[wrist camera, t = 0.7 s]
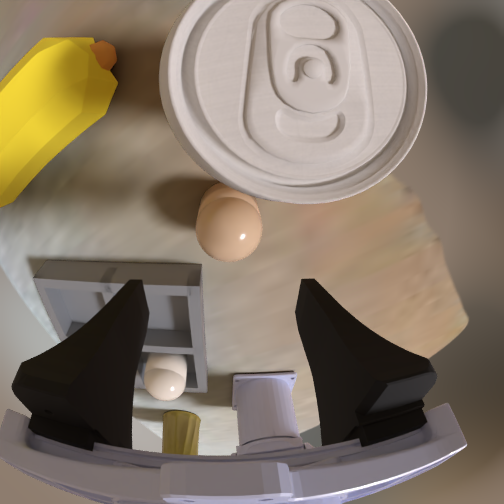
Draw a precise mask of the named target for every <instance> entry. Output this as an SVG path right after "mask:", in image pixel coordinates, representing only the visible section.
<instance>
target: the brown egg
mask: <svg viewBox="0 0 504 504" xmlns="http://www.w3.org/2000/svg"><path fill="white" fill-rule="evenodd" d="M262 231H263V226H262V220H261V216H260V213H259V209H258V205H257V202H256V199H255V197H253V196H250V195H247V194H244V193H241V192H239V191H237V190H235V189H233V188H230V187H228V186H227V185H225V184H223V183H222V182H220V183H217V184H215V185H213V186H212V187H210V188H209V189H208V190H207V191H206V192H205V193H204V195H203V197H202V199H201V202H200V207H199V211H198V216H197V221H196V236H197V240H198V242H199V244H200V246H201V248H202V249H203V250H204V251H205V252H206V253H207V254H208V255H209V256H211V257H212V258H214V259H216V260H219V261H224V262H234V261H239V260H242V259H244V258H246V257H247V256H249V255H250V254H251V253H252V252H253V251H254V250H255V249H256V248H257V246H258V244H259V242H260V240H261V237H262Z"/></svg>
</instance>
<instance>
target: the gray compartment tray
mask: <svg viewBox="0 0 504 504" xmlns="http://www.w3.org/2000/svg"><path fill="white" fill-rule="evenodd" d="M33 279H34V282H35V284H36V287H37V289H38V292H39V294H40V297H41V299H42V302H43V304H44V306H45V308H46V311H47V313H48V315H49V317H50V319H51V321H52V324H53V326H54V328H55V330H56V332H57V334H58V336H59V338H60V340H61V342H62V341H63V340H65V339H66V338H68V337H69V336H70V335H72V334H73V333H75V332H76V331H77V330H78V329H80V328H81V327H82V326H83V325H85V324H86V323H87V322H88V321H89V320H90V319H91V318H92V317H93V316H94V315H96V314H97V313H98V312H99V311H100V310H101V309H102V308H103V307H104V306H105V305H106V304H107V303H108V302H109V301H110V300H111V298H112V297H113V296H114V295H115V294H116V293H117V292H118V291H119V290H120V289H121V288H122V287H123V286H124V285H125V284H126V283H127V282H128V281H129V280H130V279H142V281H143V286H144V291H145V295H146V300H147V304H148V308H149V312H150V314H149V321H148V328H147V334H146V337H145V341H144V345H143V349H142V353H141V356H140V360H139V364H138V368H137V373H136V378H135V386H134V388H140V389H146V387H145V385H144V373H145V367H146V362H147V357H148V352H155V353H171V354H187V356H188V362H187V375H186V386H185V389H184V391H183V392H199V393H207V383H208V370H207V357H206V343H205V326H204V307H203V284H202V264H156V263H118V262H86V261H58V260H47V261H46V262H45V263H44V264H43V266H42V267H41V268H40V270H39V271H38V272H37V273H36V275H35V276H34V277H33Z"/></svg>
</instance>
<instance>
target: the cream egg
mask: <svg viewBox="0 0 504 504" xmlns="http://www.w3.org/2000/svg"><path fill="white" fill-rule="evenodd" d="M187 362H188V356H187V354H171V353H155V352H148V357H147V362H146V367H145V373H144V385H145V387H146V389H147V391H148V392H149V394H150V395H152V396H153V397H154V398H156V399H158V400H162V401H170V400H174V399H176V398H178V397H179V396H180V395H181V394H182V393H183V391H184V389H185V386H186V375H187Z"/></svg>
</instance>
